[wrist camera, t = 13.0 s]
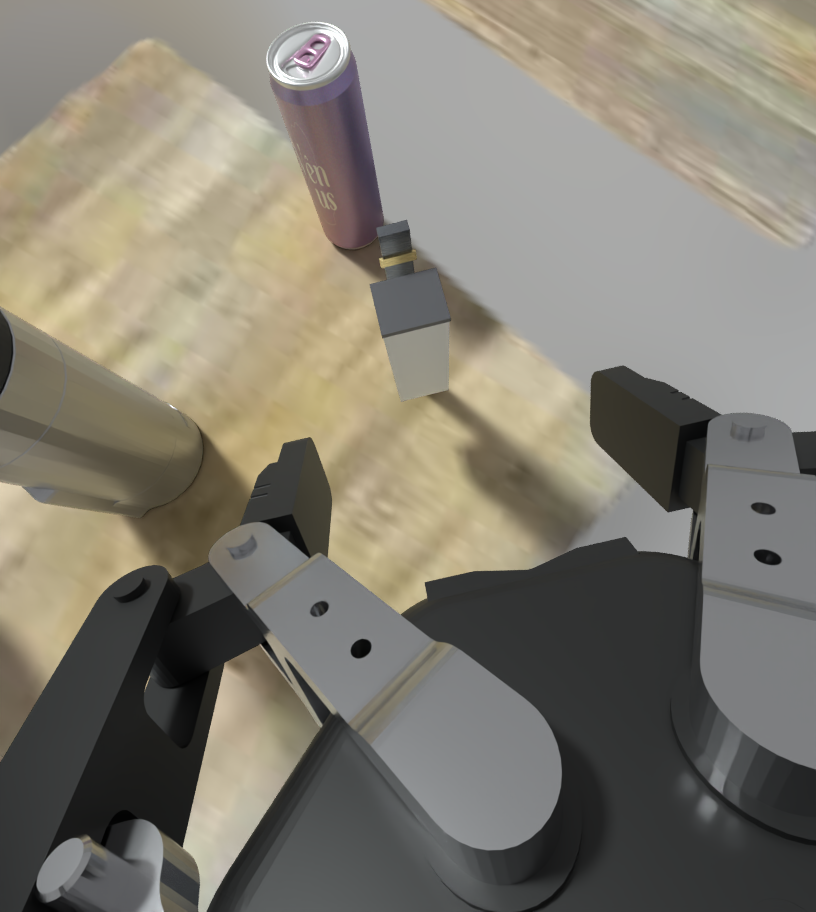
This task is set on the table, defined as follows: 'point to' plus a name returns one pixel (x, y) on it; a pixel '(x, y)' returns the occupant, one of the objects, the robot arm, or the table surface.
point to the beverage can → (328, 129)
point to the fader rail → (396, 249)
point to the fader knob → (415, 331)
